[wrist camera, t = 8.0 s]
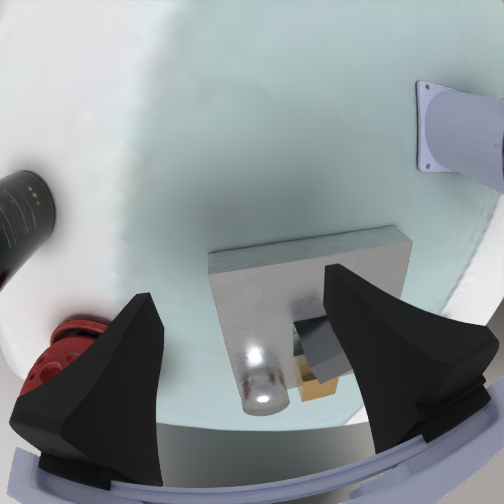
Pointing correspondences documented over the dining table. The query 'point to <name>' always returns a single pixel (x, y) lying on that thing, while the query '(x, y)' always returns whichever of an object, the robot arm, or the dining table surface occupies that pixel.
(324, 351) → the metal block
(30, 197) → the supplement bottle
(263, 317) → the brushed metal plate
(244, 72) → the dining table surface
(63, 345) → the plant pot
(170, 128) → the dining table surface
